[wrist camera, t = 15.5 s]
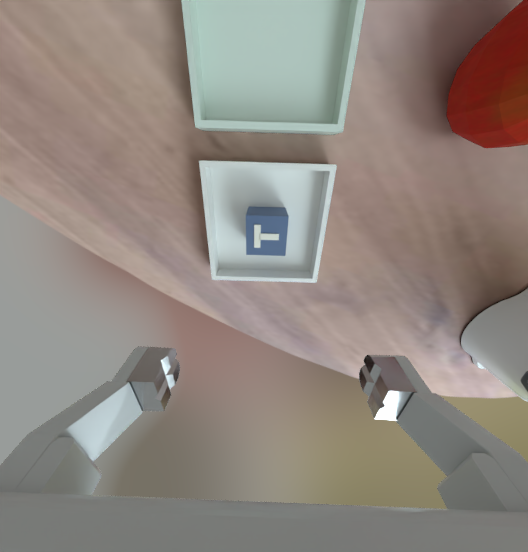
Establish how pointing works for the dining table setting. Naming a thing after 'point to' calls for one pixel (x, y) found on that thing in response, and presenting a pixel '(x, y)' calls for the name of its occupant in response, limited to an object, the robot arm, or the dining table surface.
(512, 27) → the apple
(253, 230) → the letter cube
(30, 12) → the dining table surface
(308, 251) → the tray offwhite
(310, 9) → the tray sage
